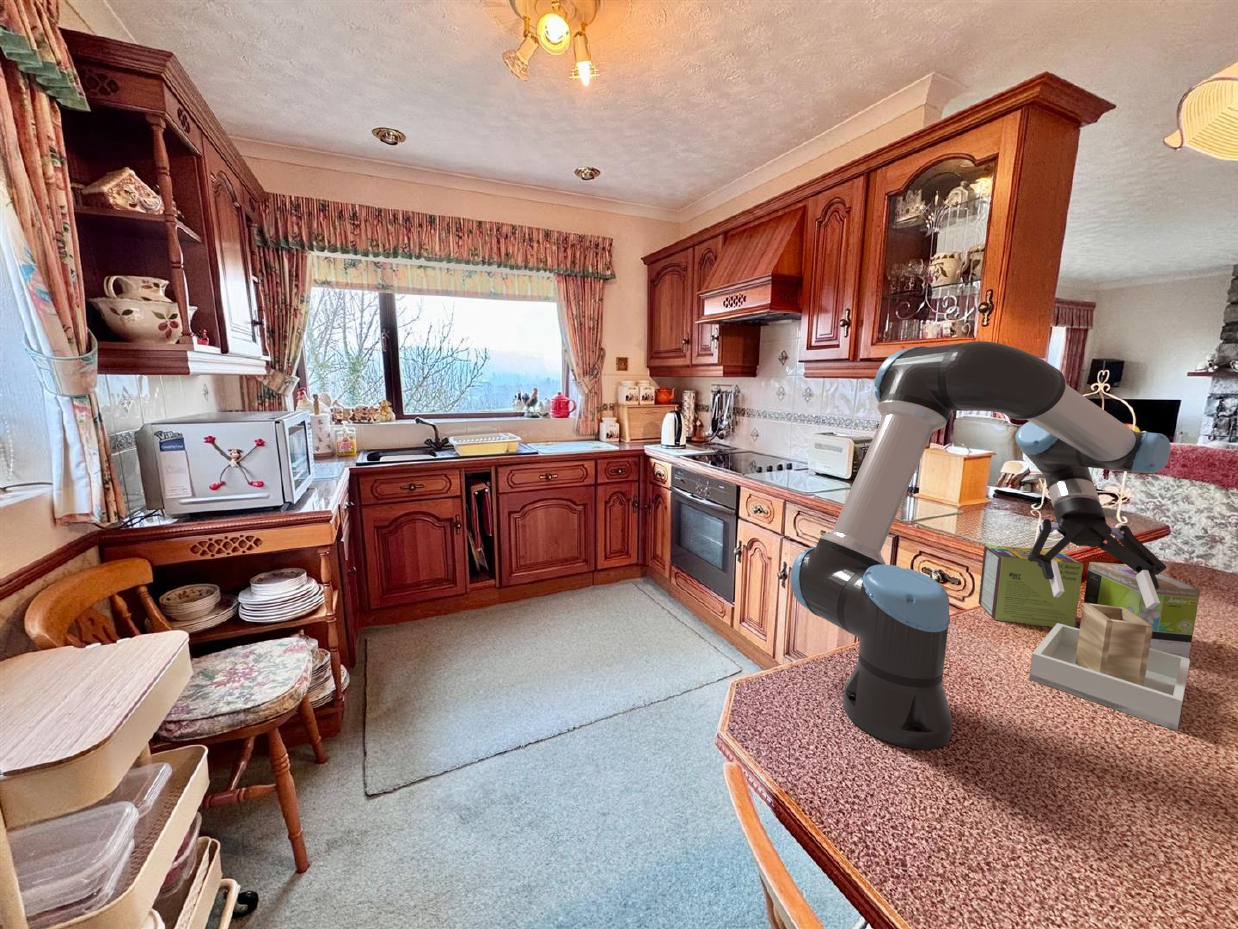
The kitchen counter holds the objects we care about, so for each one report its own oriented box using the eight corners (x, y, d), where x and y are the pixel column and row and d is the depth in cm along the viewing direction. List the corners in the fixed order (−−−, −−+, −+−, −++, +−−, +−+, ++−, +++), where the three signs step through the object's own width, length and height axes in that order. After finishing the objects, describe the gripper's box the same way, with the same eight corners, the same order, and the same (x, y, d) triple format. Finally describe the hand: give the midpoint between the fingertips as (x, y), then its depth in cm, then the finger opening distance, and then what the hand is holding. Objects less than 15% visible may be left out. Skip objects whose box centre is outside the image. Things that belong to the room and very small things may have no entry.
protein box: (1076, 630, 109) (1085, 563, 107) (994, 620, 113) (1001, 556, 111) (1051, 611, 119) (1059, 549, 117) (976, 603, 123) (983, 543, 121)
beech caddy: (1097, 685, 86) (1106, 620, 84) (1075, 662, 93) (1083, 602, 92) (1142, 692, 84) (1153, 626, 82) (1116, 669, 91) (1124, 607, 90)
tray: (1028, 679, 89) (1032, 653, 89) (1054, 645, 102) (1057, 623, 101) (1177, 731, 75) (1182, 701, 75) (1185, 685, 88) (1190, 659, 87)
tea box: (1191, 660, 97) (1204, 588, 95) (1131, 654, 99) (1142, 584, 97) (1129, 626, 111) (1139, 563, 109) (1078, 621, 113) (1086, 560, 111)
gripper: (1144, 521, 101) (1183, 619, 90) (998, 510, 111) (1016, 597, 99) (1165, 500, 96) (1209, 602, 84) (1010, 490, 105) (1029, 581, 93)
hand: (1105, 600), depth 91 cm, fingers open, 13 cm apart
